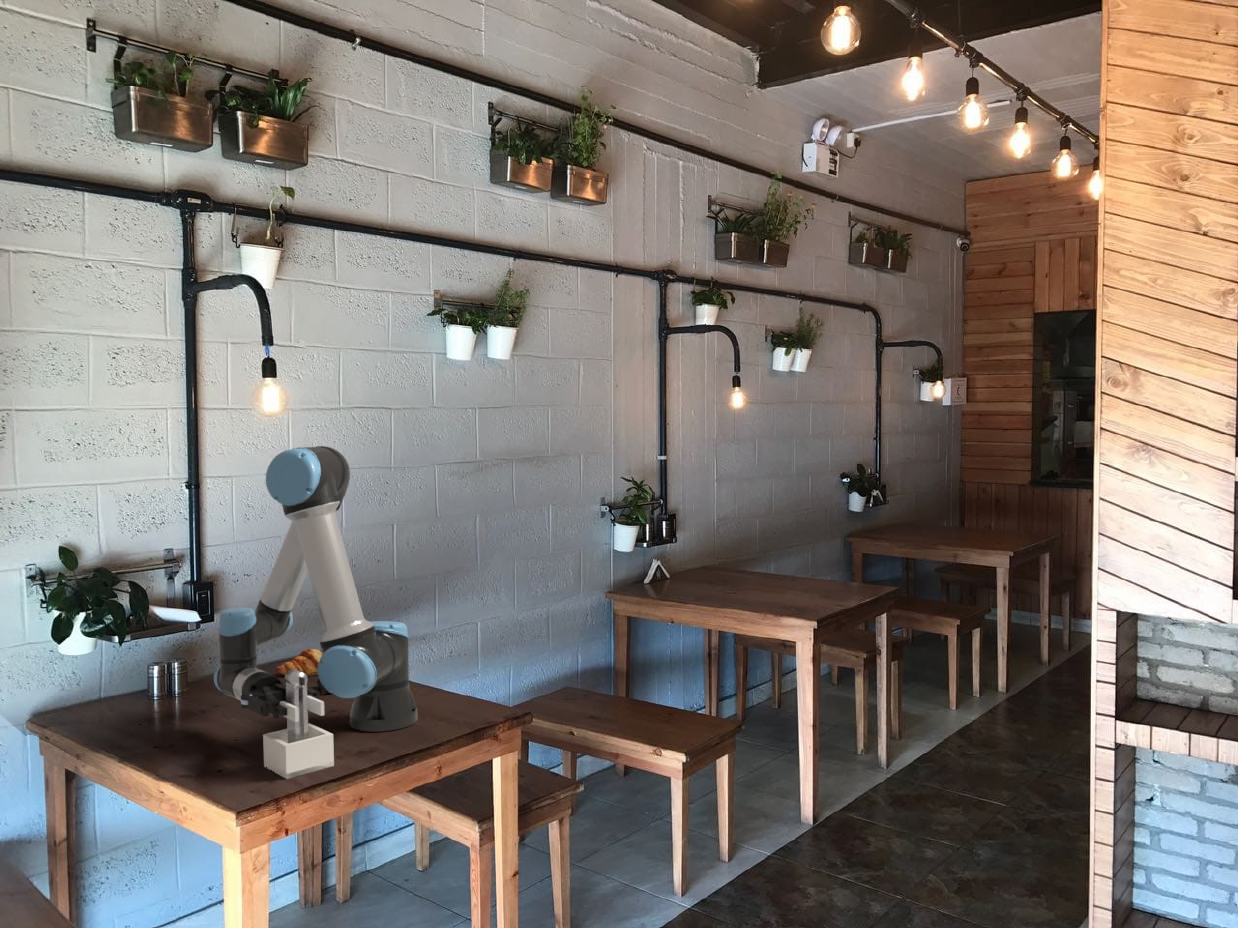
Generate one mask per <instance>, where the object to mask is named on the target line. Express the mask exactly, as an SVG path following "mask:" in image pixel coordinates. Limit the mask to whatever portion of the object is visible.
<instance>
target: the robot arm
mask: <svg viewBox="0 0 1238 928" xmlns="http://www.w3.org/2000/svg"><path fill="white" fill-rule="evenodd" d="M350 479H351V471H350V466H349V463H348V461H347V459H346V458H345V456H344V455H343V454H342V453H341V452H340V451H338V450H337V449H335V448H333V447H330V446H324V445H319V446H304V447H302V446H299V447H293V448H291V449H287V450H284V451H281V452H280V453H279V454H277V455H276V456H275V457H274V458H272V460H271V461H270V463H269V465H268V466H267V469H266V473H265V485H266V488H267V489H266V490H267V492H268V494H269V495H270V496H271V498H272V499H274V500H275V501H277V503H279V504H281V507H282V510H283V514H284V517H285V518H286V519H289V520H290V521H291V523H290V525H289V528H288V530H287V533H286V535H285V538H284V540H283V543H282V545H281V547H280V550H279V553H278V555H277V558H276V559H275V562H274V564H273V567H272V568H271V571H270V575H269V576H268V579H267V582H266V584H265V585H264V589H263V591H262V593H261V596H260V599H259V601H258V604H257V605H256V608H255V610H254V609H253V608H250V607H232V608H229V609H228V608H227V609H224V610H222V611H221V612H220V614H219V618H218V619H219V621H218V622H219V623H218V636H219V637H218V639H219V640H218V641H219V657H220V659H219V665H218V666H217V668H216V669H215V672H214V674H213V682H214V685H215V687H216V688H217V689H218V690H219V691H220V692H221V693H223V694H224V696H226V697H229V698H234V699H236V700H237V701H239V702H240V707H241V709H245V710H246V709H248V710H250V711H252V712H254V713H256V714H258V715H260V716H261V717H268V716H270V714H272V719H273V720H276V719H279V718H280V716H281V717H284V718H286V719H287V718H288V719H290V720H292V721H294V722H298V721H299V708H298V707H296V706H294V705H292V704H289V703H287V702H286V684H285V685H284V684H283V683H282V682H281V680H280V679H279V677H277V676H276V675H274V674H272V673H270V672H267V671H265V670H261V669H259V668H257V667H258V664H257V663H258V661H257V660H258V657H257V656H258V654H257V652H258V651H257V647H258V646H260V645H263V644H264V643H266V642H269V641H272V640H274V639H277V638H280V637H281V636H283V635H284V634H286V633H287V632H288V631H290V629H291V628H292V626H293V623H294V617H293V615H294V614H293V612H292V611H293V610H292V609H293V607H294V605H295V603H296V601H297V597H298V595H299V593H300V591H301V588H302V586H303V583H304V582H305V579H306V576H307V574H308V576H309V581H310V585H311V588H312V590H313V594H314V598H315V602H316V606H317V609H318V613H319V617H320V621H321V624H322V628H323V632H322V634H321V636H320V637H319V640H318V642H319V645H320V650H321V652H322V653H323V654H322V656H321V658H320V661H319V663H318V675H317V676H318V678H319V679H320V681H321V683H322V685H323V686H324V687H325V688H326V690H328V691H329V692H330V693H329V694H333V695H334V696H336V697H338V698H341V699H353V702H352V704H351V705H352V706H351V708H350V713H349V726H350V727H351V728H353V729H354V730H356V731H361V732H362V731H363V732H370V733H371V732H374V733H375V732H378V733H379V732H390V731H395V730H396V731H397V730H401V729H403V728H404V729H405V728H406V727H410V726H411V725H414V724H415V723H416V722H417V721H418V706H417V704H416V701H415V699H414V696H413V693H412V691H411V687H410V675H409V674H410V673H409V671H410V670H409V669H410V668H409V662H410V661H409V639H410V638H409V637H410V636H409V635H408V633H409V632H408V627H407V625H406V624H405V623H403V622H402V621H401V622H400V621H389V620H388V621H386V620H384V621H383V620H382V621H381V620H379V621H377V620H376V621H375V620H374V621H368V620H367V619H365V617H364V614H363V610H362V609H363V608H362V605H361V603H360V599H359V595H358V591H357V588H356V584H355V580H354V576H353V573H352V570H351V566H350V562H349V559H348V555H347V551H346V548H345V544H344V540H343V537H342V533H341V529H340V526H339V522H338V519H337V515H336V512H338V511H339V510H340V508H341V506H342V503H343V501H344V498H345V496H346V493H347V490H348V487H349V485H350ZM320 695H321V694H320V691H318V690H315V689H313V688H311V687H308V686H307V704H308V712H310V713H313V714H316V715H318V716H320V717H321V716H322V717H323V716H325V701H324V700H321V699H320Z"/></svg>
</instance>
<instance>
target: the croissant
mask: <svg viewBox="0 0 1238 928" xmlns="http://www.w3.org/2000/svg"><path fill="white" fill-rule="evenodd" d="M322 654H323V653H322V651H321V650H319V649H317V648H308V649H303V650H302V651H301V652H300V653H299V655H298V656H297V655H296V656H294V657H292V658H291V660H290V661H286V662H283V663H282V664H281V665H277V666H276V668H275V669H276V672H277V673H278V674H281V675H283V676H285V675H286V673H287V672H288V671H289V670H292V669H294V670H297V671H300V672H302V673H305V674H306V675H307V677H312V676H318V663H319V661H320V658H321V656H322Z"/></svg>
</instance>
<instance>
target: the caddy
mask: <svg viewBox="0 0 1238 928" xmlns="http://www.w3.org/2000/svg"><path fill="white" fill-rule="evenodd" d="M262 737H263V738H262V740H263V741H262V743H263V745H262V746H263V767H264V768H266V767H267V768H266V769H267V770H269V771H271V770H272V771H271V772H273V771H274V773H275V774H277V775H279V776H280V777H282V778H284V779H285V780H288V779H289V780H290V779H293V778H296V777H300V776H302V775H307V774H311V773H314V772H318V771H321V770H326V769H328V768H331V767H332V768H333V767H335V755H334V754H335V751H334V750H335V749H334V734H333V733H331V732H329V731H327V730H325V729H323V728H321V727H319V726H317V725H314V724H312V723H310V722H308V737H309V739H305V740H301V741H297V742H293V743H289V744H288V736H287V728H283V729H281V730H276V731H272V732H271V731H270V732H267V733H264V734H262Z"/></svg>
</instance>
